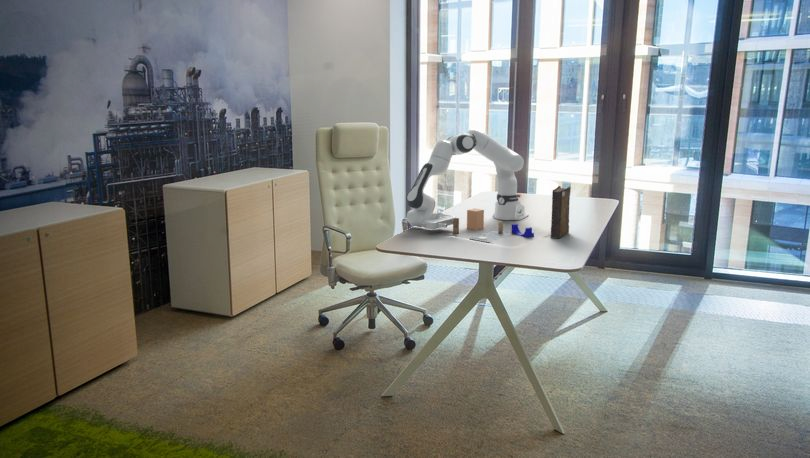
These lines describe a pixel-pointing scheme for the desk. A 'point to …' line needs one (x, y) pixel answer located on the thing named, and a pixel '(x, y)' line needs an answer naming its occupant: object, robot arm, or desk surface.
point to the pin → (455, 226)
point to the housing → (475, 219)
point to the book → (560, 212)
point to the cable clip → (516, 231)
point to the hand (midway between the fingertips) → (452, 224)
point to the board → (491, 234)
